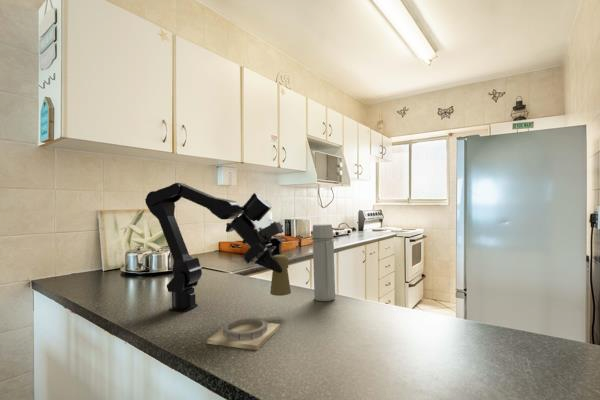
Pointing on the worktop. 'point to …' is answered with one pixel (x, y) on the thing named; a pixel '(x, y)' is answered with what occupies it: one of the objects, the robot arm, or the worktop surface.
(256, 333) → the seat
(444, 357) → the worktop surface
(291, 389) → the worktop surface
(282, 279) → the cork
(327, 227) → the water bottle
